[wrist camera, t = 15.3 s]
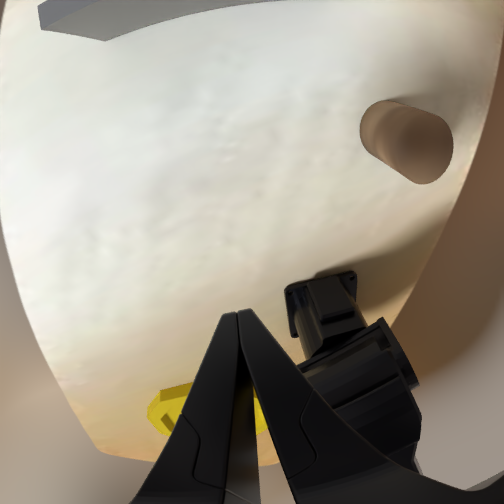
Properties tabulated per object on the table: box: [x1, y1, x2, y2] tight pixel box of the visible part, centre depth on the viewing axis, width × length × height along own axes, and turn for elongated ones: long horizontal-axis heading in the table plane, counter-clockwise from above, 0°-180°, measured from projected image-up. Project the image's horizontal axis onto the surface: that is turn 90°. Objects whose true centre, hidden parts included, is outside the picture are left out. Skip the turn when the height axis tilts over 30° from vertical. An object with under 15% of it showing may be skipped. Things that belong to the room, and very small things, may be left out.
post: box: [360, 101, 453, 184], centre depth 17 cm, size 4×4×5 cm
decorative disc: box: [147, 382, 268, 436], centre depth 36 cm, size 17×18×2 cm
